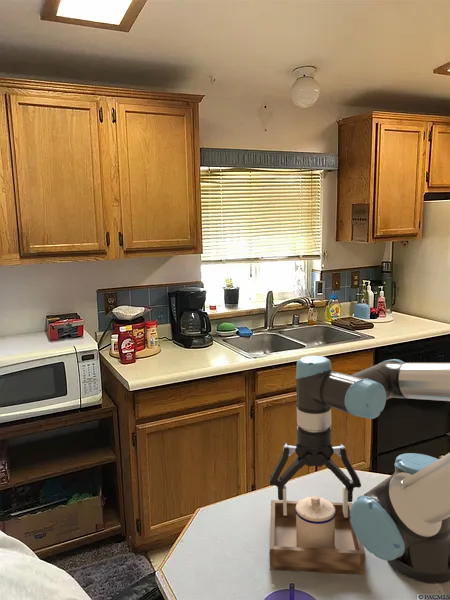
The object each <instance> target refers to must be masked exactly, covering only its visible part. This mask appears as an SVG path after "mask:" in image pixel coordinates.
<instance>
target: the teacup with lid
mask: <svg viewBox="0 0 450 600" xmlns="http://www.w3.org/2000/svg"><path fill="white" fill-rule="evenodd" d="M298 501H299V502H298V503H297V505H296V507H295V512H296V542H297V545H298V547H303V548H323V549H334V546H335V516H336V510H335V507H334V506H333V504H332V503H331V502H332V501H331V502H330V501H329V500H328V499H325V498H322V497H321V496H318V495H312V496H309V497H303V498H302V499H300V500H298Z"/></svg>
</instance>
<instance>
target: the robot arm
mask: <svg viewBox="0 0 450 600" xmlns="http://www.w3.org/2000/svg"><path fill="white" fill-rule="evenodd" d="M295 369H296V370H295V371H296V372H295V383H296V384H295V387H296V388H295V389H296V424H297V426H296V439H297V441H296V442H297V443H296V445H291V444H289V443H287V442H285V443H284V444H283V448H282V453H281V455H280V457H279V458H278V461H277V463H276V464H275V467H274V468H273V470H272V472H271V474H270V476H269V484H270V486H272V487H273V486H276V488H277V498H278V499H277V500H281V501H283V515H286V516H287V501H288V500H287V483H288V482H289V481H290V480H291V479H292V478H293V477H294V476H295V474H297V473H298V471H299V470H301V469H302V468H303V467H304V466H305V465H306V466H307V467H308V468H309V467H319V468H321V467H323V466H325V467H326V468H327V469H328V470H330V472H332V473H333V474H334V476H335V477H336V478H337V479H338V480H339V481H340V482H341V483H342V503H343V514H344V517H346V518H348V503H352V502H353V503H352V506H351V509H350V517H351V525H352V528H353V530H354V533H355V535H356V536H357V538H358V539H359V541H360V542H361V544H362V545H363V547H364V549H366V550H367V551H368V552H369V553H370V554H373V555H374V557H377V558H378V559H381V560H383V561H387V562H388V563H389V565H390V566H391V567H392V568H393V569H394V570H395V571H396V572H398V573H399V574H401V575H403V576H404V577H406V578H409V579H411V580H413V581H416V582H421V583H426V584H442V583H446V582H449V581H450V452H448V453H447V454H445V455H444V456H442V457H439V458H436V457H434V456H430V455H428V454H423V453H415V452H413V453H412V452H410V453H409V452H407V453H402V454H399V455H398V456H396V458H395V462H394V473H393V474H391V475H390V476H388V477H387V478H385V479H384V480H383V481H381V482H380V483H378V484H377V485H376V486H374V487H373V488H371V489H370V490H368V491H367V492H366V493H364V494H362V495H359V496H357V498H356V500H355V501H353V499H354V498H353V497H354V496H353V491H354V489H355V488H358V489H359V488H361V487H362V483H361V480H360V477H359V475H358V474H357V472H356V470H355V467H354V466H353V464H352V463H351V461H350V459H349V457H348V456H347V449H346V446H345V444H344V443H340V444H339V445H337V446H333V445H332V409H336V410H338V411H341V412H343V413H347V414H350V415H352V416H354V417H358V418H365V419H367V420H368V419H369V420H372V419H373V420H374V419H376V418H378V417H379V416H380V415H381V412H383V410H384V408H385V406H386V402H387V400H389V399H392V398H393V399H394V398H395V399H413V400H414V399H415V400H426V401H427V400H429V401H430V400H431V401H444V402H450V362H405V361H403V360H401V359H399V358H398V359H396V358H393V359H388V360H387V359H386V360H383V361H381V362H379V363H377V364H375V365H373V366H370V367H367V368H365V369H363V370H360V371H357V372H355V373H352V374H347V373H342V372H338V371H336V370H333V368H332V362H331V359H329V358H327V357H326V356H322V355H321V356H320V355H306V356H303V357H300V358H299V359H298V360H297V361H296V367H295ZM293 453H295V454H296V455H297V456H296V458H295V460H294V461H292V462H291V464H290V465H289V466H288V468H287V469H286V470H284V472H283V469H284V468H285V466H286V464H287V462H288V459H289V457H291V456H292V455H293ZM334 454H336V456H337V457H339V458H341V461H342V463H343V465H344V466H345V469H346V470H347V473H348V474H349V476H350V478H351V479H350V478H349V476H347V474H346V473H345V472H344V471H343V470H342V469H341V468H340V467H339V465H337V463H335V461H333V458H332V456H333V455H334ZM282 472H283V473H282Z"/></svg>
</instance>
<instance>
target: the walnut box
mask: <svg viewBox="0 0 450 600" xmlns="http://www.w3.org/2000/svg"><path fill="white" fill-rule="evenodd" d="M286 501H287V516H286V515H283V500H279V499H275V500H274V499H271V500H270V526H269V527H270V528H269V530H270V531H269V570H270V571H283V572H284V571H285V572H286V571H287V572H288V571H289V572H303V573H304V572H305V573H320V574H323V573H324V574H340V575H359V576H365V574H366V573H365V572H366V551H365V547H364V546H363V545H362V544H361V542H360V541H359V539H358V538H357V536H356V535H355V533H354V530H353V528H352V525H351V517H350V509H351V506H352V504H353V503H352V502H348V518H346V517H344V514H343V502H332V501H331V503H332V504H333V506H334V507H335V510H336V516H335V546H334V549H323V548H303V547H298V545H297V542H296V512H295V507H296V505H297V503H298V502H299V501H300V500H286Z"/></svg>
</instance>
